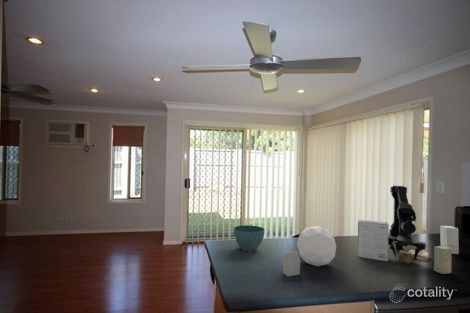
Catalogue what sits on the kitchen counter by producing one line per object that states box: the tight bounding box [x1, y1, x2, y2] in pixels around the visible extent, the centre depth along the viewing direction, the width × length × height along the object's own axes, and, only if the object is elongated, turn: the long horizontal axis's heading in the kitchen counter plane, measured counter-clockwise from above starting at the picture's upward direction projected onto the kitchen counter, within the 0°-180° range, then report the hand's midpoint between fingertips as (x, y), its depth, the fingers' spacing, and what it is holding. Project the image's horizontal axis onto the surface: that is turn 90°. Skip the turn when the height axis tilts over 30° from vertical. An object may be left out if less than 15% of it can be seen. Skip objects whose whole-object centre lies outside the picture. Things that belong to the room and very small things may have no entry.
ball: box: [296, 225, 337, 267], centre depth 144 cm, size 19×20×20 cm
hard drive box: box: [357, 219, 390, 262], centre depth 157 cm, size 16×8×20 cm, turn 64°
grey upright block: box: [282, 250, 301, 277], centre depth 129 cm, size 4×7×10 cm, turn 115°
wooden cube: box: [398, 249, 412, 265], centre depth 152 cm, size 5×5×5 cm
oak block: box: [407, 249, 430, 262], centre depth 160 cm, size 9×9×3 cm
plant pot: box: [233, 224, 265, 252], centre depth 164 cm, size 18×18×12 cm
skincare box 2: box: [433, 245, 452, 275], centre depth 138 cm, size 6×4×12 cm
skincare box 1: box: [439, 225, 460, 255], centre depth 173 cm, size 8×7×16 cm
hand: (404, 258), depth 152 cm, fingers open, 9 cm apart
